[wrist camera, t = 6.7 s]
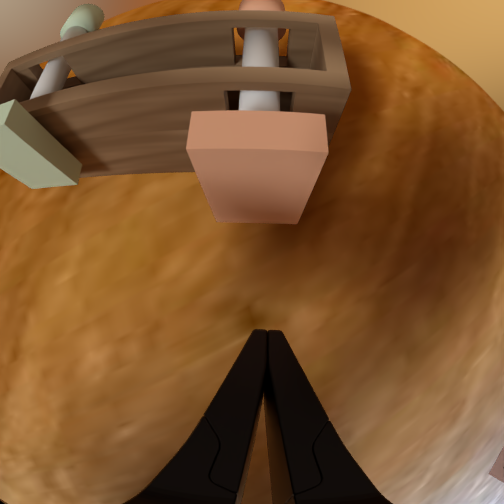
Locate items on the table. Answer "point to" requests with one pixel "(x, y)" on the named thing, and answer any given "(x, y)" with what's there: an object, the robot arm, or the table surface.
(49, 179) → the sage button
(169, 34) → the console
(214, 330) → the table surface
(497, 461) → the greeting card
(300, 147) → the pink block with rod
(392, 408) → the table surface
